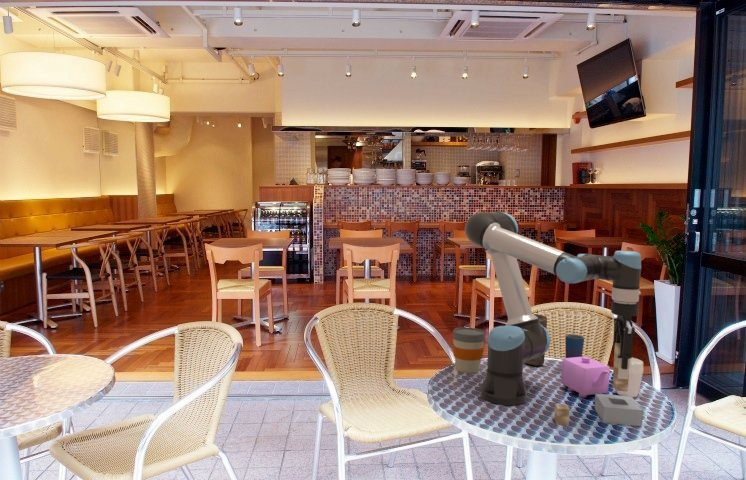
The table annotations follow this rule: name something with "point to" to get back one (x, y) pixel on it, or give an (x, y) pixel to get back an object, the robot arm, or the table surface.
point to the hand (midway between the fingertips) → (620, 376)
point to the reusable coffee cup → (468, 348)
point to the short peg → (562, 414)
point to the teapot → (585, 376)
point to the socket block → (618, 409)
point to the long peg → (617, 383)
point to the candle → (541, 359)
